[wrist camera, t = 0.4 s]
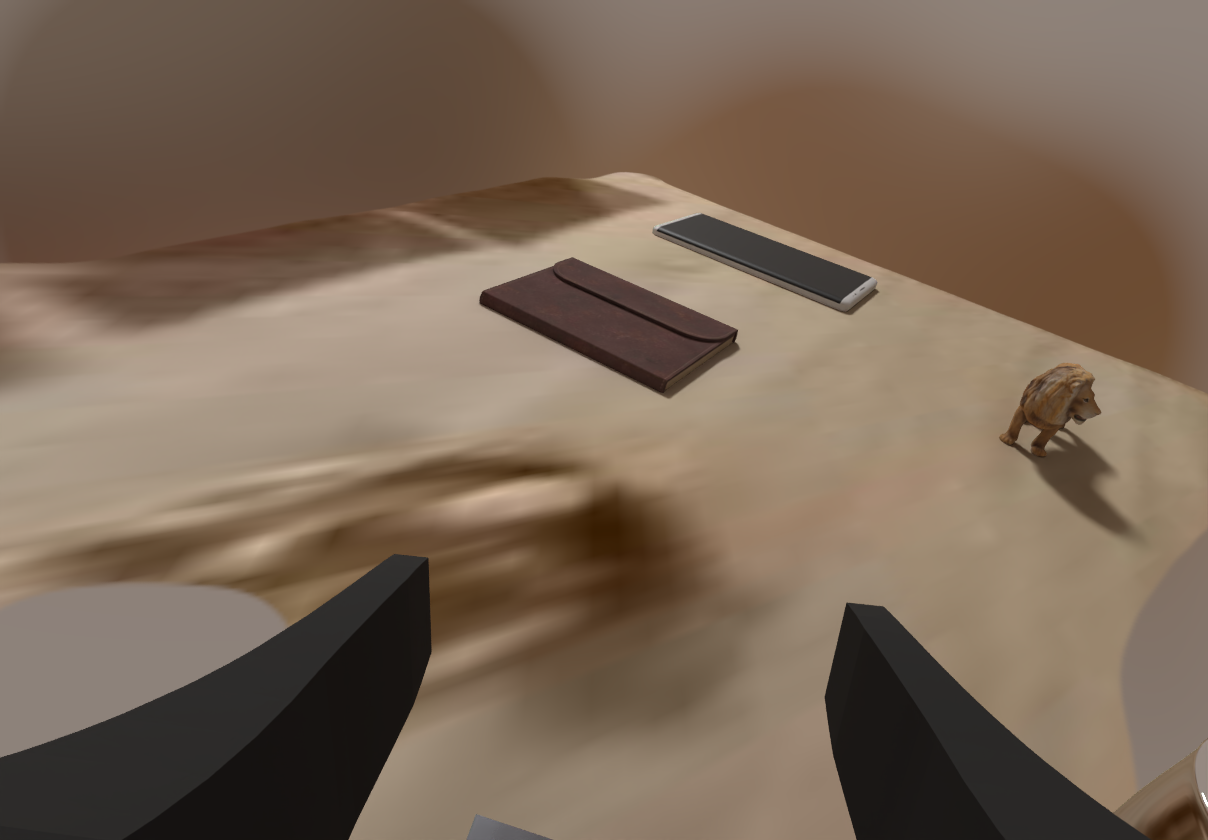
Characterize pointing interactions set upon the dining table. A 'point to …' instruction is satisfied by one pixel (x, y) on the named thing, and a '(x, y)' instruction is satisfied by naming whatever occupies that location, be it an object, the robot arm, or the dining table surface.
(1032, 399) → the lion figurine
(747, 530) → the dining table surface
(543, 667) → the dining table surface
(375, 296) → the dining table surface
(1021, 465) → the dining table surface
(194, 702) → the robot arm
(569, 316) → the notebook
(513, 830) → the keyhole plate
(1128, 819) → the beer glass
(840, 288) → the smartphone
